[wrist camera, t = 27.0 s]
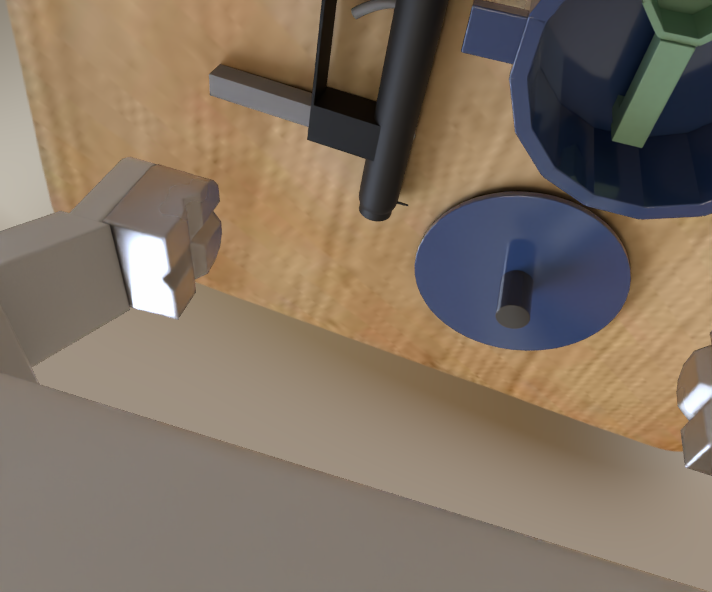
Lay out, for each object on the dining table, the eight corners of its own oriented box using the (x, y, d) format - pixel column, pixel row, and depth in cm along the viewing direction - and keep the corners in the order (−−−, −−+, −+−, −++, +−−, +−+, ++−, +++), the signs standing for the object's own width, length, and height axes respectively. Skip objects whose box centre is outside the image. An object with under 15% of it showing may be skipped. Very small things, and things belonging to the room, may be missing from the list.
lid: (440, 161, 45) (427, 203, 41) (671, 220, 43) (679, 268, 40) (402, 311, 57) (389, 353, 53) (580, 360, 55) (580, 407, 52)
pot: (526, -193, 30) (512, -161, 24) (990, -104, 27) (1087, -48, 22) (452, 102, 41) (431, 167, 36) (774, 179, 39) (804, 261, 34)
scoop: (670, -98, 30) (677, -76, 28) (773, -77, 30) (791, -53, 27) (584, 102, 38) (583, 134, 36) (664, 121, 38) (670, 155, 35)
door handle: (207, 167, 48) (401, 233, 46) (195, -135, 33) (480, -55, 31) (226, 145, 50) (412, 207, 48) (223, -146, 35) (491, -73, 33)
